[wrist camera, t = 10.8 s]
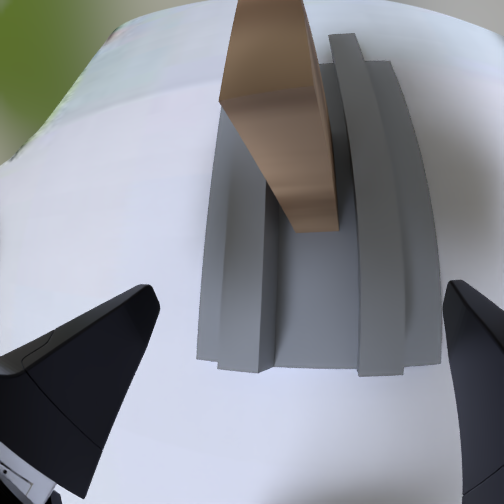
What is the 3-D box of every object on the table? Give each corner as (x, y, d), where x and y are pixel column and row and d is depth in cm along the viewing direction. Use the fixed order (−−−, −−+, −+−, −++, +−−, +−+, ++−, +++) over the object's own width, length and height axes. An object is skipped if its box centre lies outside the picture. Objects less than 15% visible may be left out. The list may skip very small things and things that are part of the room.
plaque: (339, 231, 16) (313, 85, 6) (295, 233, 17) (218, 101, 7) (331, 131, 18) (297, -16, 8) (294, 135, 19) (239, -5, 9)
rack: (435, 362, 14) (459, 369, 10) (203, 358, 18) (168, 361, 14) (389, 69, 19) (389, 32, 16) (229, 87, 24) (211, 55, 20)
